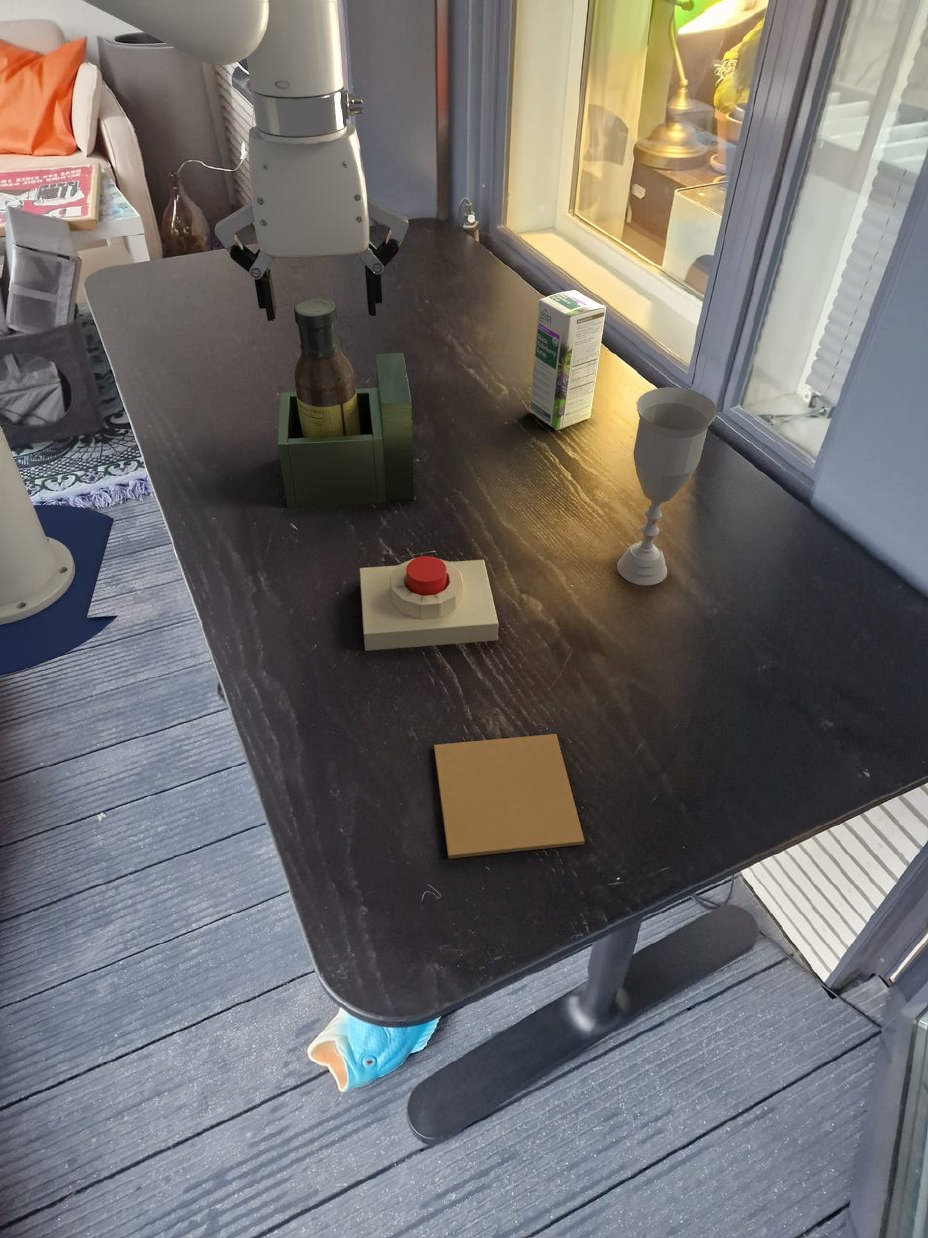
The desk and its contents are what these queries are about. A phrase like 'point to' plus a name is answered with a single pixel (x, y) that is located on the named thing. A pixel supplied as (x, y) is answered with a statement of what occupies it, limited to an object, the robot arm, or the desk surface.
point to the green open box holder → (353, 448)
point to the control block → (427, 608)
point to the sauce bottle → (323, 374)
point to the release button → (426, 575)
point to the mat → (505, 796)
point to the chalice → (664, 466)
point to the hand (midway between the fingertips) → (322, 312)
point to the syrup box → (566, 358)
